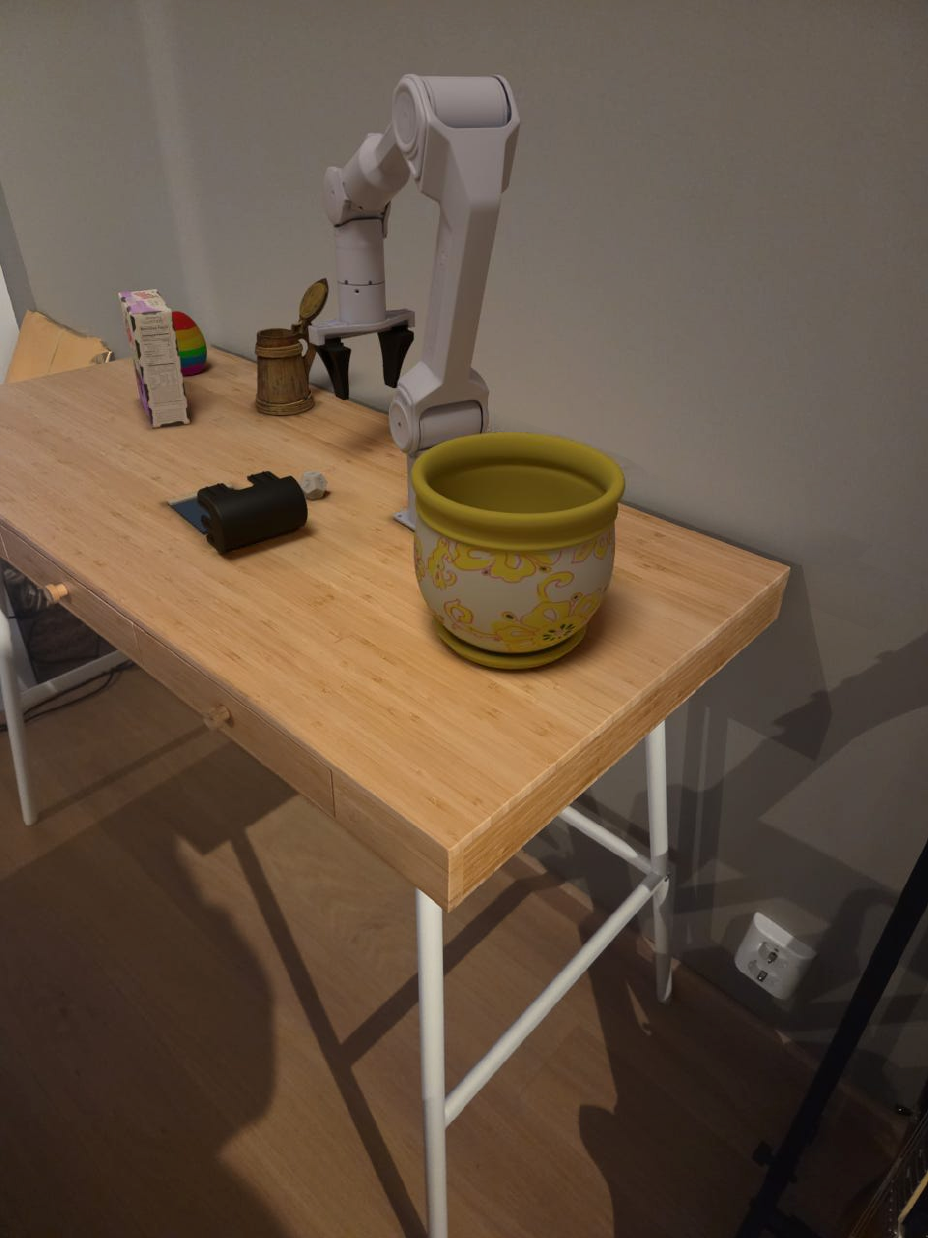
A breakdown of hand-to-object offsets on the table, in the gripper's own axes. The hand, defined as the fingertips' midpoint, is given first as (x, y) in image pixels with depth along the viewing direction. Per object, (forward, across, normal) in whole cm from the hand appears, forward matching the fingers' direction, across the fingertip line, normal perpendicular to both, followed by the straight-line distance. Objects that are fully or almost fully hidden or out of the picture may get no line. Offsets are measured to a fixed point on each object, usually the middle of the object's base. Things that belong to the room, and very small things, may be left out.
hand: (367, 391), depth 107 cm
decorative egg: (+10, +3, -52) cm, 53 cm away
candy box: (+10, +14, -35) cm, 39 cm away
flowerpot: (+10, +13, +42) cm, 45 cm away
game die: (+10, +12, +5) cm, 16 cm away
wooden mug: (+10, -4, -26) cm, 28 cm away
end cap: (+10, +23, +11) cm, 27 cm away
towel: (+9, +23, +1) cm, 25 cm away
